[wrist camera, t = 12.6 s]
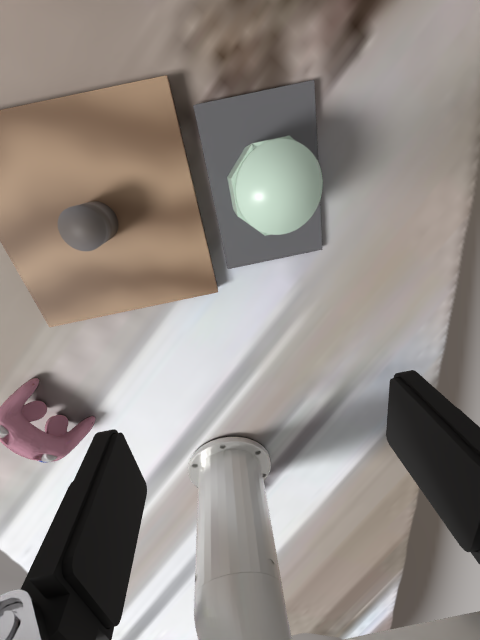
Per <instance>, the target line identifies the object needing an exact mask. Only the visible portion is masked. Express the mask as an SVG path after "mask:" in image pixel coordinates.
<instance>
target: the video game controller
mask: <svg viewBox="0 0 480 640" xmlns="http://www.w3.org/2000/svg"><path fill="white" fill-rule="evenodd" d="M38 384H39V379H37V378H34V379H31V380H29V381H28V382H26V383H25V384H23V385H22V386H21V387H20V388H19V389H17V390H16V391H15V392H14V393H13V394H12V395H11V396H10V397H9V398H8V399H7V400H6V401H5V402H4V403H3V404H2V406H1V407H0V441H1V442H2V443H3V444H4V445H5V446H6V447H7V448H9V449H10V450H11V451H13V452H14V453H16V454H18V455H20V456H23V457H25V458H28V459H32V460H37V461H40V462H52V461H57V460H60V459H61V458H63V457H65V456H66V455H67V454H68V453H70V452H71V451H72V450H73V449H74V448H75V447H76V446H77V445H78V444H79V442H80V441H81V440H82V439H83V438H84V437H85V436H86V435H87V433H88V432H89V431H90V430H91V429H92V427H93V425H94V423H95V417H94V416H91V417H88V418H86V419H85V420H83V421H81V422H80V423H79V424H78V425H76V426H75V427H74V428H73V429H72V430H71V431H69V432H67V426H68V419H67V417H65V416H63V415H56V416H52V417H51V418H49V419H48V420H47V422H46V425H45V432H43V431H41V430H39V429H38V428H36V427H35V426H34V425H32V424H31V423H29V422H31V421H36V420H38V419H41V418H42V417H43V416H44V415H45V414H46V412H47V406H46V405H45V403H44V402H42V401H33V402H30V403H28V404H26V405H24V404H25V402H26V401H27V399H28V398H29V397H30V396H31V395H32V394H33V392H34V391H35V389H36V388H37V386H38Z"/></svg>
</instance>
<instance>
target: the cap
mask: <svg viewBox="0 0 480 640" xmlns="http://www.w3.org/2000/svg"><path fill="white" fill-rule="evenodd" d="M227 178H228V184H229V189H230V195H231V200H232V206H233V210H234V211H235V213H236V215H237V216H238V217H240V218H241V219H242V220H244V221H245V222H247V223H248V224H249V225H251V226H252V227H254V228H255V229H256V230H258V231H259V232H261V233H262V234H263V235H264V236H266V235H271V234H272V235H281V234H286V233H290V232H292V231H295V230H296V229H298V228H300V227H301V226H303V225H304V224H305V223H306V222H307V221H308V220H309V219H310V218H311V217H312V215H313V214H314V212H315V211H316V209H317V207H318V204H319V202H320V199H321V195H322V188H323V179H322V173H321V168H320V166H319V163H318V160H317V159H316V157H315V156H314V155H313V153H312V152H311V151H310V150H309V149H308V148H307V147H305V146H304V145H303V144H301V143H299V142H297V141H295V140H294V139H293V138H292V137H291V136H285V137H281V138H276V139H271V140H266V141H261V142H257V143H252V144H250V145H248V146H247V147H245V148H244V150H243V152H242V153H241V155H240V157H239V158H238V160H237V162H236V163H235V165H234V167H233V168H232V170H231V172H230V173H229V175H228V177H227Z"/></svg>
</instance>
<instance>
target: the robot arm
mask: <svg viewBox="0 0 480 640" xmlns="http://www.w3.org/2000/svg"><path fill="white" fill-rule="evenodd" d="M386 436H387V440H388V443H389V445H390V446H391V448H392V449H393V450H394V452H395V453H396V455H397V456H398V458H399V459H400V460H401V462H402V463H403V465H404V466H405V468H406V469H407V470H408V472H409V473H410V475H411V476H412V478H413V479H414V480H415V482H416V483H417V485H418V486H419V488H420V489H421V490H422V492H423V493H424V495H425V496H426V498H427V499H428V500H429V502H430V503H431V505H432V506H433V508H434V509H435V510H436V512H437V513H438V515H439V516H440V518H441V519H442V520H443V522H444V523H445V524H446V526H447V528H448V529H449V530H450V532H451V533H452V535H453V536H454V538H455V539H456V540H457V542H458V543H459V545H460V546H461V547H462V548H463V549H464V550H465V551H467V552H471V553H472V555H473V556H474V558H475V559H476V560H477V562H478V563H479V564H480V427H479V426H478V425H476V424H475V423H474V422H473V421H472V420H471V419H470V418H469V417H467V416H466V415H465V414H464V413H463V412H462V411H461V410H460V409H458V408H457V407H455V406H454V405H453V404H452V403H451V402H450V401H448V400H447V399H446V398H445V397H444V396H443V395H442V394H441V393H440V392H438V391H437V390H436V389H435V388H434V387H433V386H432V385H431V384H429V383H428V382H427V381H426V380H425V379H424V378H423V377H422V376H420V375H419V374H418V373H417V372H416V371H413V370H411V371H406V372H401V373H396V374H395V375H394V378H393V379H391V380H390V387H389V402H388V416H387V431H386ZM270 468H271V462H270V458H269V454H268V452H267V450H266V449H265V448H264V447H263V446H262V445H261V444H259V443H258V442H256V441H253V440H251V439H247V438H243V437H224V438H219V439H216V440H213V441H210V442H208V443H206V444H204V445H203V446H201V447H200V448H199V449H198V450H197V451H196V452H195V453H194V454H193V455H192V457H191V459H190V462H189V469H188V473H189V478H190V480H191V482H192V483H193V484H194V485H195V486H196V487H197V488H198V508H197V537H196V567H195V596H194V620H195V628H196V632H197V636H198V639H199V640H292V637H291V632H290V627H289V622H288V616H287V611H286V606H285V600H284V594H283V589H282V583H281V577H280V571H279V566H278V560H277V554H276V549H275V543H274V537H273V532H272V526H271V520H270V515H269V509H268V503H267V498H266V492H265V486H264V480H265V479H266V478H267V476H268V474H269V472H270ZM146 495H147V486H146V482H145V480H144V478H143V476H142V474H141V472H140V470H139V467H138V465H137V463H136V461H135V459H134V457H133V455H132V452H131V450H130V448H129V446H128V444H127V442H126V440H125V437H124V435H123V434H122V433H118V432H117V430H108V431H103V432H98V433H97V434H96V435H95V436H94V438H93V440H92V442H91V444H90V447H89V449H88V451H87V453H86V455H85V457H84V460H83V462H82V464H81V466H80V468H79V470H78V473H77V475H76V477H75V479H74V481H73V482H72V483H71V484H70V486H69V488H68V490H67V492H66V494H65V496H64V498H63V500H62V502H61V505H60V507H59V509H58V511H57V513H56V515H55V517H54V519H53V522H52V524H51V526H50V528H49V530H48V532H47V534H46V536H45V539H44V541H43V543H42V545H41V547H40V549H39V551H38V553H37V556H36V558H35V560H34V562H33V564H32V566H31V568H30V570H29V573H28V575H27V577H26V579H25V581H24V583H23V585H22V588H21V589H19V590H11V591H9V592H7V593H5V594H2V595H0V640H111V639H112V634H113V630H114V626H117V625H118V624H119V622H120V620H121V616H122V612H123V607H124V602H125V597H126V592H127V588H128V583H129V578H130V573H131V568H132V563H133V558H134V554H135V549H136V544H137V539H138V534H139V529H140V524H141V519H142V515H143V510H144V505H145V500H146ZM344 640H480V611H479V612H474V613H469V614H464V615H460V616H454V617H450V618H444V619H440V620H435V621H430V622H425V623H421V624H416V625H411V626H406V627H401V628H396V629H391V630H387V631H382V632H377V633H372V634H367V635H363V636H358V637H353V638H349V639H344Z"/></svg>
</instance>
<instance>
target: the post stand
mask: <svg viewBox="0 0 480 640" xmlns="http://www.w3.org/2000/svg"><path fill="white" fill-rule="evenodd" d="M0 241H1V243H2V245H3V247H4V248H5V250H6V252H7V254H8V255H9V257H10V259H11V261H12V262H13V264H14V266H15V268H16V269H17V271H18V273H19V275H20V276H21V278H22V280H23V282H24V283H25V285H26V287H27V289H28V290H29V292H30V294H31V296H32V297H33V299H34V301H35V303H36V304H37V306H38V308H39V310H40V311H41V313H42V315H43V317H44V318H45V320H46V322H47V324H48V325H49V327H53V326H58V325H63V324H68V323H73V322H77V321H82V320H87V319H92V318H97V317H101V316H106V315H111V314H116V313H121V312H125V311H130V310H135V309H140V308H145V307H149V306H154V305H159V304H164V303H169V302H173V301H178V300H183V299H188V298H193V297H197V296H202V295H207V294H212V293H217V292H218V287H217V282H216V278H215V274H214V270H213V265H212V261H211V257H210V253H209V248H208V244H207V240H206V236H205V231H204V227H203V223H202V219H201V214H200V210H199V206H198V202H197V197H196V193H195V189H194V185H193V181H192V176H191V172H190V168H189V164H188V159H187V155H186V151H185V147H184V142H183V138H182V134H181V130H180V125H179V121H178V117H177V113H176V108H175V104H174V100H173V96H172V91H171V87H170V83H169V80H168V77H167V75H165V76H160V77H156V78H151V79H146V80H141V81H136V82H132V83H127V84H122V85H117V86H113V87H108V88H103V89H98V90H93V91H89V92H84V93H79V94H74V95H69V96H65V97H60V98H55V99H50V100H45V101H41V102H36V103H31V104H26V105H21V106H17V107H12V108H7V109H2V110H0Z"/></svg>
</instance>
